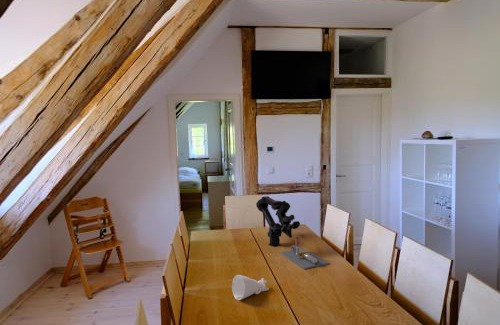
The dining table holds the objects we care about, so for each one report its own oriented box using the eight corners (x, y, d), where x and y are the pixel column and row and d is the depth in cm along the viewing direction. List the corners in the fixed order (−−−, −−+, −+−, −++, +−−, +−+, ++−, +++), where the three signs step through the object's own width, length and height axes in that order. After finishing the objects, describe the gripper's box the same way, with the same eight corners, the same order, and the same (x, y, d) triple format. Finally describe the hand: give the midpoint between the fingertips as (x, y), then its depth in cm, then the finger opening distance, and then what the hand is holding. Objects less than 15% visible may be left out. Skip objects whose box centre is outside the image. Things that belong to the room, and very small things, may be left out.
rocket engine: (269, 269, 167) (240, 270, 158) (277, 290, 160) (247, 292, 150) (258, 280, 174) (229, 282, 164) (265, 301, 166) (235, 304, 156)
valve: (289, 251, 216) (289, 244, 216) (297, 250, 218) (297, 243, 218) (311, 266, 192) (311, 258, 192) (320, 264, 195) (320, 256, 194)
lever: (295, 256, 204) (295, 237, 203) (298, 255, 205) (298, 237, 204) (296, 257, 202) (296, 238, 201) (300, 256, 203) (300, 238, 202)
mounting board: (281, 253, 215) (281, 252, 215) (303, 249, 222) (304, 247, 222) (304, 269, 189) (304, 267, 189) (329, 264, 196) (329, 262, 196)
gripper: (274, 212, 209) (282, 233, 200) (298, 209, 217) (308, 229, 207) (268, 221, 217) (276, 242, 208) (292, 218, 225) (301, 238, 215)
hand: (291, 237), depth 209 cm, fingers closed
